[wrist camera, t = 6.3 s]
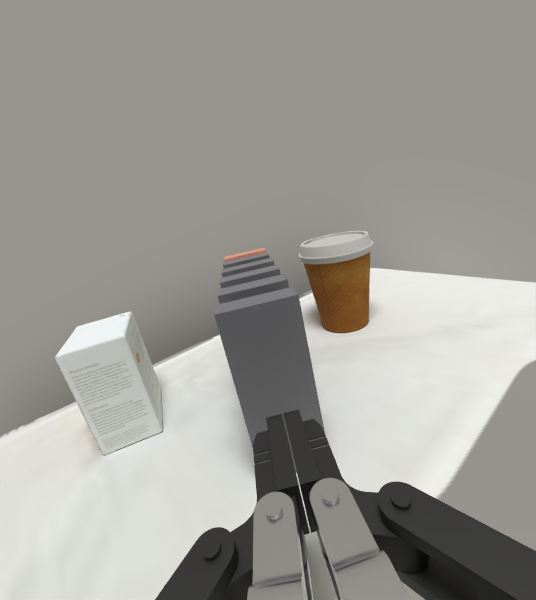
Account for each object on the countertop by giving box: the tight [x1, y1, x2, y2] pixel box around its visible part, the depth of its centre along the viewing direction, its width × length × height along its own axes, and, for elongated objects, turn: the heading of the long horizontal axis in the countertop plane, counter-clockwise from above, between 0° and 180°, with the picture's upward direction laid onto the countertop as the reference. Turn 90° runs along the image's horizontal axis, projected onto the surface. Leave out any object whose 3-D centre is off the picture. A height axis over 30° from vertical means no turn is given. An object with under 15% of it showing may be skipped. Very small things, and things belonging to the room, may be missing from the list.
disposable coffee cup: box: [299, 231, 373, 333], centre depth 41 cm, size 10×10×12 cm
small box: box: [55, 312, 163, 455], centre depth 30 cm, size 8×6×10 cm
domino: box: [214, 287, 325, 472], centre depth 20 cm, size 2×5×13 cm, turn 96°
